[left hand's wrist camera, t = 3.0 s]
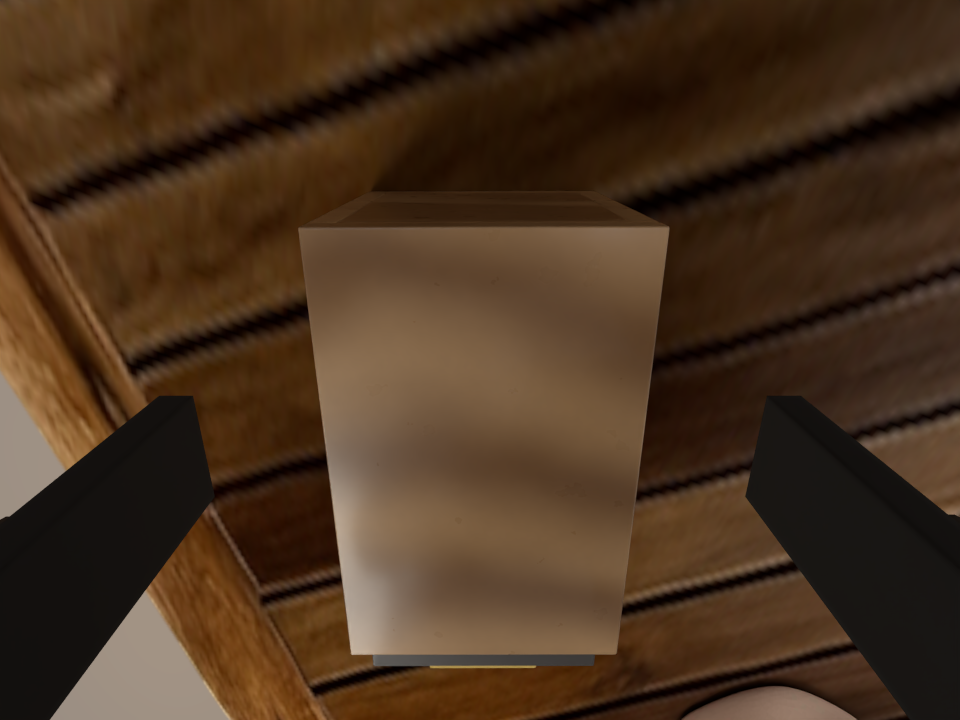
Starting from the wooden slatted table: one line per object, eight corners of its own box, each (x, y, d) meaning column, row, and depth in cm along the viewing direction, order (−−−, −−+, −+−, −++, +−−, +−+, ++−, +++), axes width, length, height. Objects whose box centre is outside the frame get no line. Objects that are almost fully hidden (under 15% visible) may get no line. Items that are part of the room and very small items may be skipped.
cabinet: (573, 490, 32) (616, 655, 22) (391, 490, 32) (350, 655, 22) (595, 190, 26) (670, 226, 16) (369, 191, 26) (296, 227, 16)
